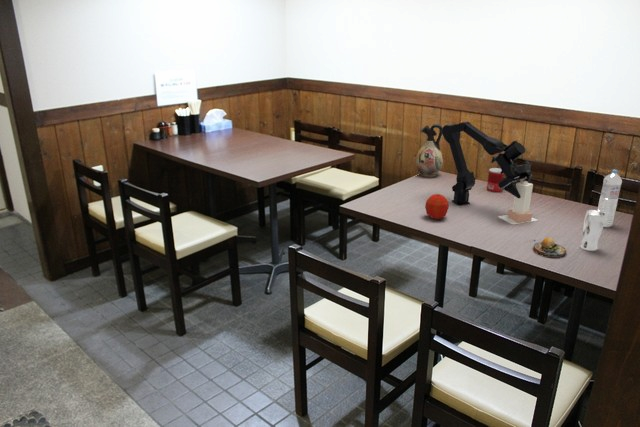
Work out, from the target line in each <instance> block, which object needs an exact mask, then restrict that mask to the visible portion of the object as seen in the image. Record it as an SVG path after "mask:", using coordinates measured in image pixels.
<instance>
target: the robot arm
mask: <svg viewBox="0 0 640 427" xmlns="http://www.w3.org/2000/svg"><path fill="white" fill-rule="evenodd" d="M442 128H443V129H442V136H443V138H444V140H445V142H447V143H448V144H449V148H450V152H451V154H452V158H453V162H454V165H455V169H456V171H457V174H456V178H455V180H456V183H455V184H454V185H452V187H451V190H452V192H453V199H452V200H451V202H452V203H453V204H456V205H457V206H462V205H468V204H470V201H469V200H470V191H471V190H472V189H473V187H474V186H475V184H476V177H475V173H474V172H473V171H470V170H469V169H468V166H467V163H466V159H465V155H464V153H463V149H462V145H461V142H460V139H461V133H462V132H463V133H465V134H466V135H468V136H469V137H470V138H472V139H473V140H474V141H476V142H478V144H480V145H481V146H482V148H483V150H484V151H485V152H486V153H487V154H488V155H490V156H492V159H491V162H490V163H491V164H494V163H497V165H498V167H499V168H500V169H501V170H502V171H501V174H503V173H504V175H505V177H504V179H503V180H501V181H500V182H498V186H499V188H500V189H502V188H503V190H502V191H506V192H507V193H509V194H511V195H512V196H513V197H514V196H515V197H517V198H521V196H520V194H519V192H518V190H517V188H516V183H519V182H522V181H528V183H531V180H532V177H533V175H534V174H533V172H532V170H531V167H532V164H531V163H530V162H529V160H527V161H524V162H522V164H520V165H518V164H517V163H514V162H513V161H516V160H517V159H518V158H520V157H522V155H524V154H525V153H526V147H525V146H524V145H523V144H522V143H520V142H518V140H513V141H512V142H510V144H505V143H504V142H503V141H502V140H500V139H498V138H495V137H491V136H489V135H488V134H486V133H485V132H483V131H482V130H480V129H479V128H477V127H476V126H475V125H473V124H472V123H471V122H470V121H461V122H460V123H452V124H446V125H444V126H442ZM533 193H534V192H533V191H532V194H533Z"/></svg>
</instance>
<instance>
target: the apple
mask: <svg viewBox="0 0 640 427" xmlns="http://www.w3.org/2000/svg"><path fill="white" fill-rule="evenodd" d="M449 206H450V203H449V200H448V198H446V197H445V196H444V195H443V194H439V193H435V194H431V195H429V197H428V198H427V199H426V200H425V205H424V207H425V208H424V209H425V212H426V214H427V216H429V217H430V218H432V219H434V220H440V219H443V218H444V217H446V216H447V213H448V212H449V208H450V207H449Z"/></svg>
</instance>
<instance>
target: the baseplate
mask: <svg viewBox="0 0 640 427" xmlns="http://www.w3.org/2000/svg"><path fill="white" fill-rule="evenodd" d="M497 218H498V219H501V220H503V221H505V222H507V223H508V224H511V225H517V224H518V225H519V224H523V223H524V224H525V223H530V222H536V221H537V222H538V219H537V218H534V217H533V216H532V219H531V221H527V222H521V223H517V222H515V221H514V220H512V219H510V218H508V214H506V215H504V214H503V215H498V216H497Z"/></svg>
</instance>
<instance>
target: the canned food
mask: <svg viewBox="0 0 640 427" xmlns="http://www.w3.org/2000/svg"><path fill="white" fill-rule="evenodd" d="M501 171H502V170H501V169H500V167H499V168H498V167H491V168H489V170H488V175H487V185H486V190H487V191H488V192H492V193H501V192H502V191H504V190H503V188H502V189H500V188H499V186H498V182H500V181H501V180H503V179H504V178H506V176H505V175H504V173H503V174H501Z"/></svg>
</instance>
